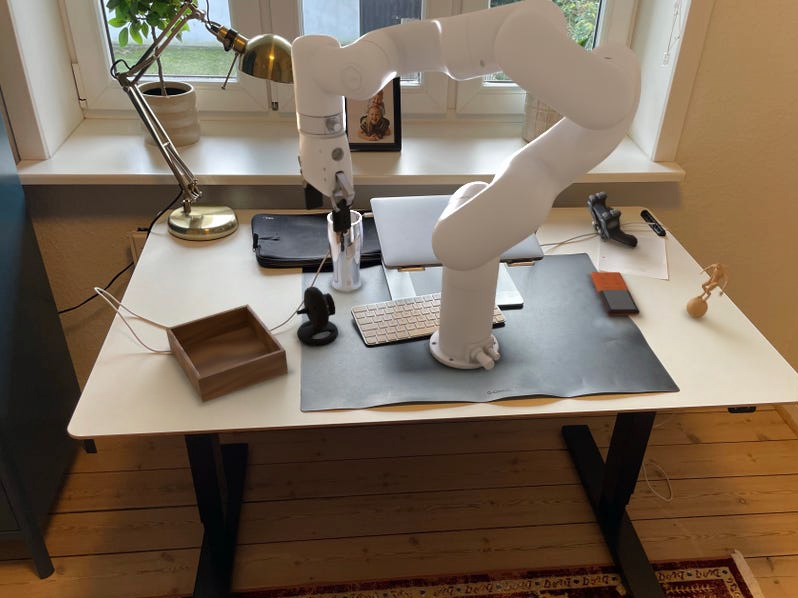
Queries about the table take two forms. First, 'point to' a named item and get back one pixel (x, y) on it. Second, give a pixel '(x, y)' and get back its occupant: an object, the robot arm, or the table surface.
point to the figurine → (708, 290)
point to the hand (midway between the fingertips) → (328, 218)
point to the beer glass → (346, 253)
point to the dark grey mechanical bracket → (608, 220)
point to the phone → (614, 293)
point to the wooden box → (226, 352)
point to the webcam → (317, 318)
